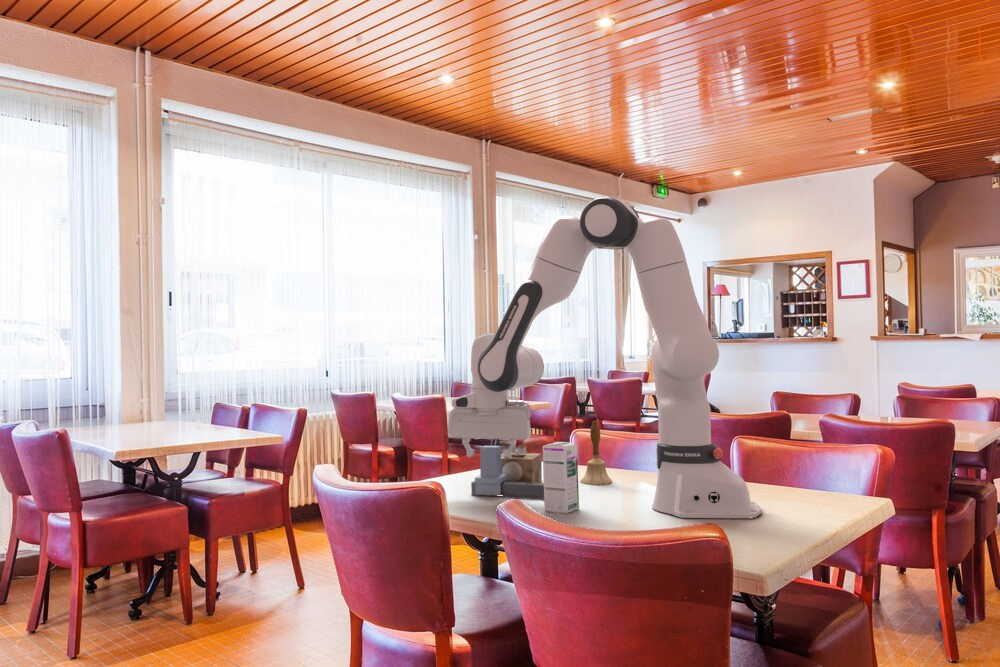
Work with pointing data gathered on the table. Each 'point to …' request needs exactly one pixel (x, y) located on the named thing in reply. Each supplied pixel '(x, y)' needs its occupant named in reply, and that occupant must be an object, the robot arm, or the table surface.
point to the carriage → (490, 471)
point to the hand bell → (596, 462)
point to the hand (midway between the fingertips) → (489, 457)
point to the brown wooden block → (522, 468)
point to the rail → (518, 489)
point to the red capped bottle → (518, 447)
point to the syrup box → (560, 477)
